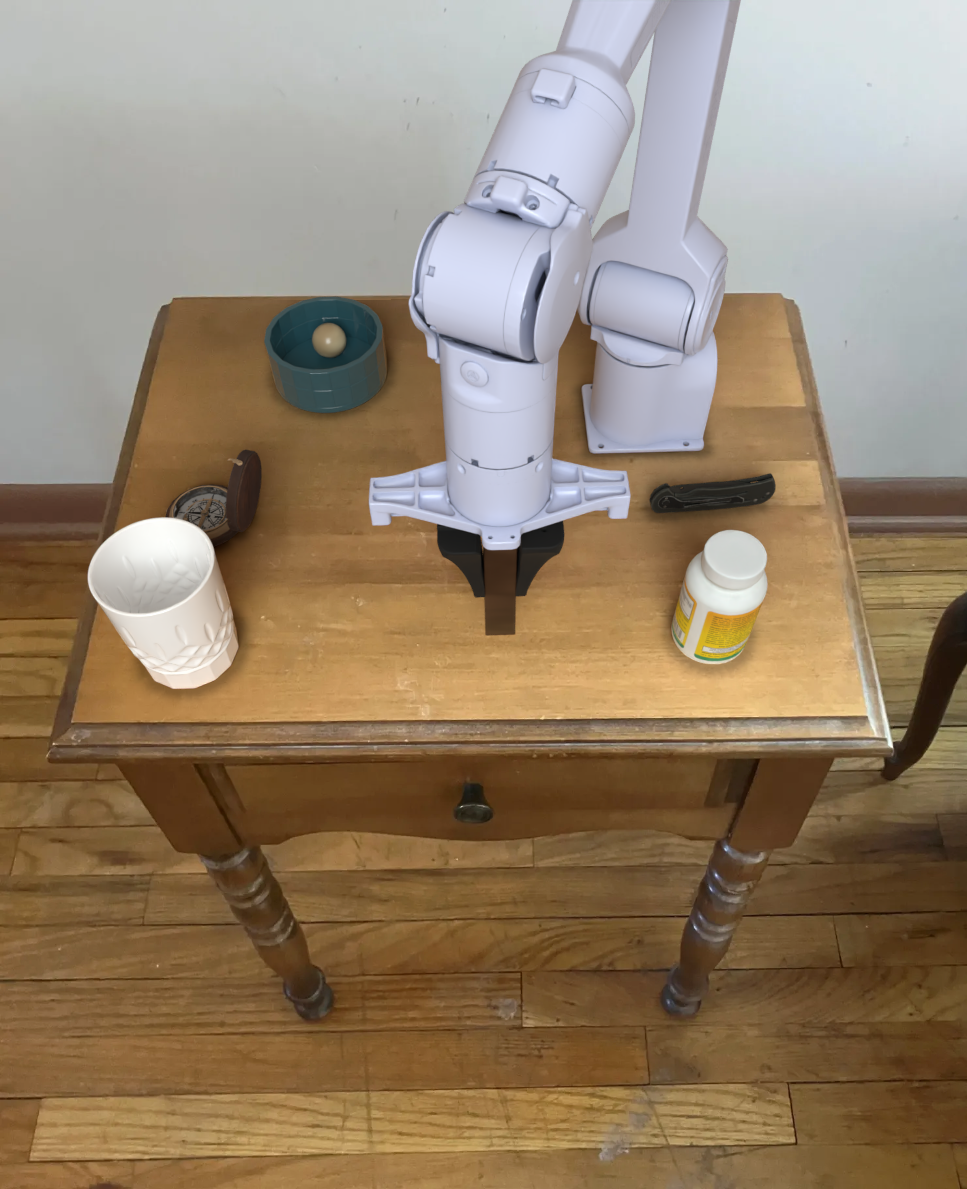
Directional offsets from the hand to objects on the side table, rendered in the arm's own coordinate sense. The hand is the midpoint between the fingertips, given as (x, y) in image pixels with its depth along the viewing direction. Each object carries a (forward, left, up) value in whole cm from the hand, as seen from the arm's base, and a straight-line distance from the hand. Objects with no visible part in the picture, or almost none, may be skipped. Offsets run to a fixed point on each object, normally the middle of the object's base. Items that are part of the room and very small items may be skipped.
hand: (499, 584), depth 62 cm
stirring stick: (0, 0, -4) cm, 4 cm away
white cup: (+22, -1, -9) cm, 24 cm away
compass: (+22, -12, -9) cm, 27 cm away
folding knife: (-17, -13, -9) cm, 23 cm away
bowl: (+14, -30, -9) cm, 34 cm away
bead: (+14, -32, -8) cm, 36 cm away
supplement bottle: (-15, -1, -9) cm, 17 cm away
